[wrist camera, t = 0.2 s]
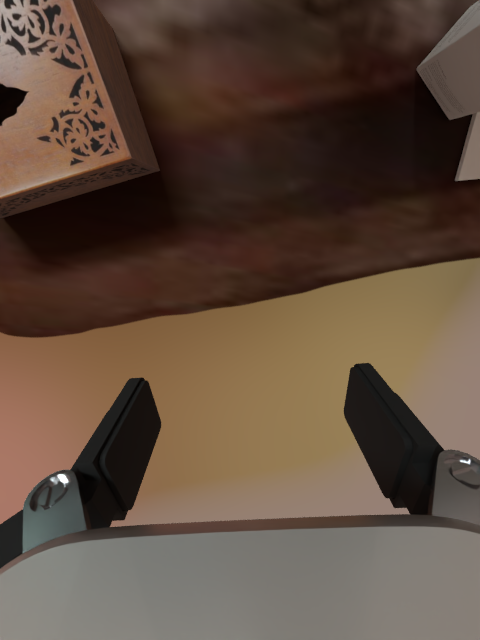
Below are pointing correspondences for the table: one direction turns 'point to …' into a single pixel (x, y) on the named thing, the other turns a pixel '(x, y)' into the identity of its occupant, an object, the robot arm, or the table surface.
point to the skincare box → (456, 67)
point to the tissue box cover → (64, 106)
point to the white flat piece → (471, 152)
